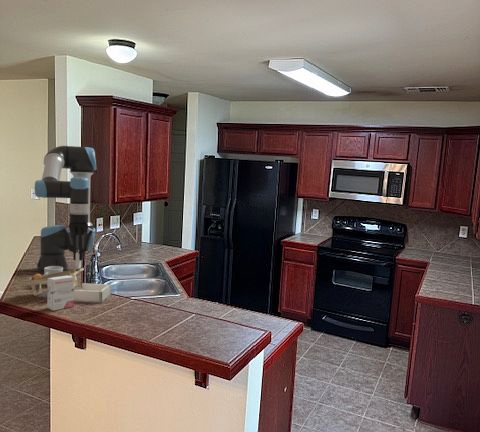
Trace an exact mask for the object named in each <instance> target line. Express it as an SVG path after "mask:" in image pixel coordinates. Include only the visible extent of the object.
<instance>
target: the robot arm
mask: <svg viewBox="0 0 480 432" xmlns="http://www.w3.org/2000/svg"><path fill="white" fill-rule="evenodd" d="M96 160H97V159H96V151H95V148H93V147H88V146H77V145H75V146H73V145H72V146H70V145H60V146H56V147H54V148H52V149H50V150H49V151H47V153H46V154H45V155H44V158H43V165H44V168H43V173H42V177H41V179H37V180H35V183H34V196H35V197H36V198H44V199H45V198H46V199H47V198H49V199H50V198H51V199H53V198H54V199H57V198H58V199H69V200H70V201H69V212H70V214H69V224H68V227H66V225H64V224H54V225H49V226H44V227H43V228H41V229H40V236H39V238H40V254H39V255H40V256H39V259H38V261H37V264H36V272H39V273H43V274H44V268H45V267H49V266H61V267H63V272H64V271H68V270H69V264H68V262H67V258H66V255H65V253H66V251H69V252H71V253H73V255H72V256H73V261H75V263H74V264H75V268H74V269H81V268H82V261H84V253H86V252H88V250H92V249H93V247H94V243H95V242H94V241H95V235H96V228H95V227H93V223H92V222H91V177H92V176H93V175H94V173H95V172H94V171H97V161H96ZM62 169H70V171H69V172H70V173H71V175H72V176H73V177H71V178H70V180H69V181H68V180H67V181H66V180H65V181H64V180H61V176H62V175H61V173H62Z"/></svg>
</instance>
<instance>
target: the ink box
mask: <svg viewBox="0 0 480 432" xmlns="http://www.w3.org/2000/svg"><path fill="white" fill-rule="evenodd" d="M74 290H75V287H74V277H72V276H68V275H67V276H60V277H53V278H48V285H47V291H46V292H47V293H46V294H47V299H46V301H47V306H46V307H47V309H49V310H50V311H58V310H63V309H69V308H73V307H74V306H75V303H74V302H75V301H74Z"/></svg>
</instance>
